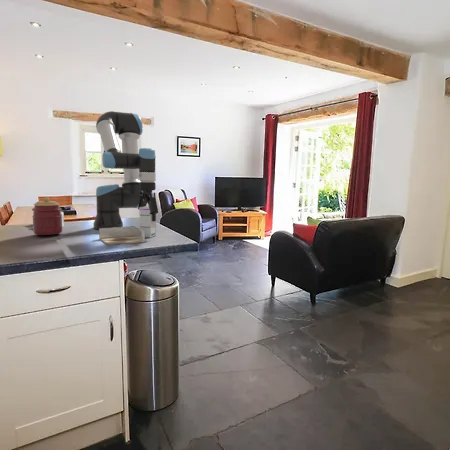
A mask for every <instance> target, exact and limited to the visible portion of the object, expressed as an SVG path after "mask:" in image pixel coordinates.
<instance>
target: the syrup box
mask: <svg viewBox="0 0 450 450" xmlns="http://www.w3.org/2000/svg"><path fill="white" fill-rule="evenodd" d="M139 229H141V230H144V231H145V238H146V239H148V238H150V239H151V238H153V237H155V236H156V235H157V234H156V229H157V227H156V228H150V209H149V206H147V205H146V206H144V207H140V208H139Z"/></svg>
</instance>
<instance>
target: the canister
mask: <svg viewBox="0 0 450 450" xmlns="http://www.w3.org/2000/svg"><path fill="white" fill-rule="evenodd" d="M60 205H61V204H60V203H59V202H57V201H56V200H55V201H54V200H50V197H48V196H45V197H43V200H41V201H36V202H35V203H33V206H34V207H33V208H31V211H32V216H31V218H32V231H33V234H34V235H40V236H49V235H58V234H62V232H63V227H64V226H63V227H62V215H61V212H62V210H63V208H61V206H60Z"/></svg>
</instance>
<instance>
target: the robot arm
mask: <svg viewBox="0 0 450 450" xmlns="http://www.w3.org/2000/svg"><path fill="white" fill-rule="evenodd" d="M95 127H96V130H97V133H98V134H99V135H100V139H101V142H102V147H103V149H104V152H103V153H102V155H101V157H102V158H101V159H102V161H101V162H102V166H103V168H104V169H111V170H114V169H115V170H116V169H119V170H121V169H122V170H123V178H124V179H123V180H124V181H123V182H122V184H121V186H120V185H119V184H115V183H114V184H107V185H100V186H98V187H96V189H95V191H96V192H95V193H96V194H95V196H96V199H95V200H96V215H95V219H94V222H93V229H95V230H99V228H113V227H124V224H123V223H124V222H123V219H122V217H121V215H120V209H137V210H139V208H140V207H144V206H147V205H148V206H149V209H150V228H156V229H157V214H158V213H159V207H158V204H157V199H156V197H157V196H156V192H153V191H155V190H156V187H157V186H156V180H157V178H156V177H157V176H156V175H157V174H156V150H155V149H154V148H151V147H150V148H148V147H146V148H145V147H142V148H139V146H138V140H139V139H140V138H141V137H140V136H141V135H142V134H143V122H142V119H141V116H140V115H139V114H137V113H132V112H120V111H111V110H110V111H107V112H104V113H102V114H101V115H100V116H99V117H98V118H97V120H96V123H95ZM117 134H118V137H117ZM118 139H120V140H121V146H120V143H119V141H118ZM121 147H122V148H121Z"/></svg>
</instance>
